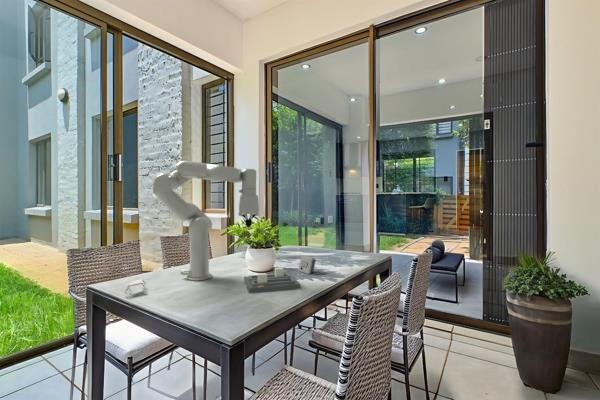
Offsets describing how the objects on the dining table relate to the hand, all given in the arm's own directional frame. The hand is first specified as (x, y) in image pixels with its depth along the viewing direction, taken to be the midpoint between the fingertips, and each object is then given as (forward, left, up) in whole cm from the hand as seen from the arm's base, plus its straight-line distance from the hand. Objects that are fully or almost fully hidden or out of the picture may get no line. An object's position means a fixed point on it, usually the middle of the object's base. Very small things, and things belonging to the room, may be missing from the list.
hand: (248, 226), depth 164 cm
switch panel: (+9, -17, -27) cm, 33 cm away
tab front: (+4, -21, -25) cm, 33 cm away
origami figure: (-50, -12, -27) cm, 59 cm away
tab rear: (+14, -12, -25) cm, 31 cm away
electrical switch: (+33, +1, -27) cm, 43 cm away
